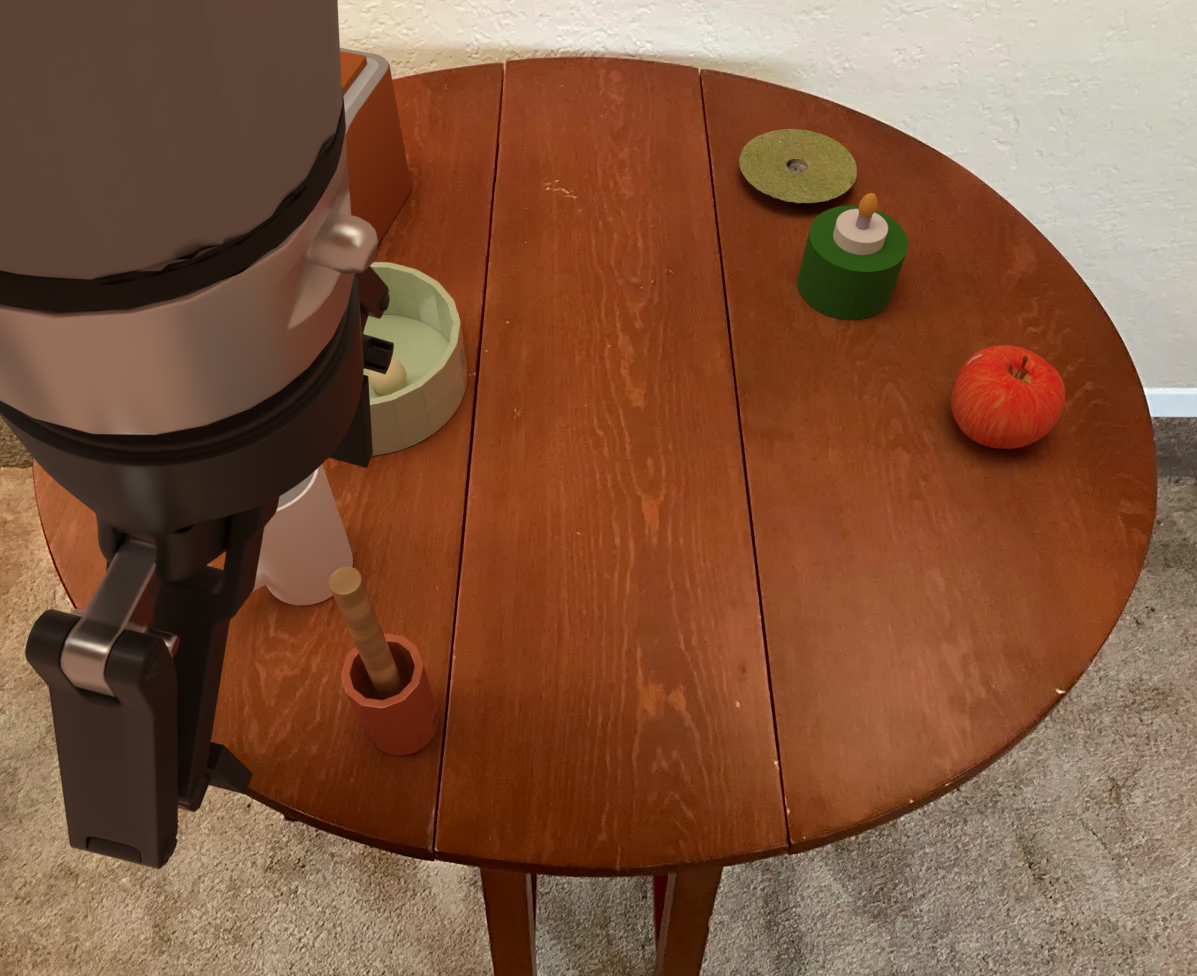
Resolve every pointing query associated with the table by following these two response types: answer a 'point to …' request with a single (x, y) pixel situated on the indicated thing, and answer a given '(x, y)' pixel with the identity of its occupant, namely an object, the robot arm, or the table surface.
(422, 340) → the bowl
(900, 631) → the table surface
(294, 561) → the mug
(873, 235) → the candle
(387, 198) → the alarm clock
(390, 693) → the stick
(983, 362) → the apple
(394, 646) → the crock
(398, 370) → the dough ball
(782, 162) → the mat
